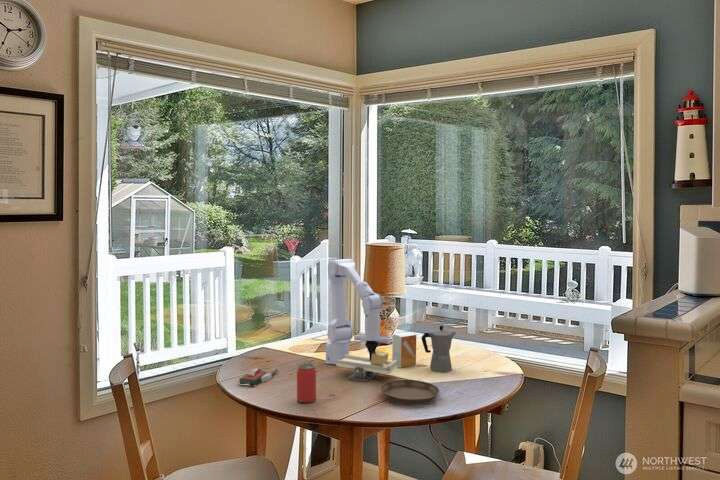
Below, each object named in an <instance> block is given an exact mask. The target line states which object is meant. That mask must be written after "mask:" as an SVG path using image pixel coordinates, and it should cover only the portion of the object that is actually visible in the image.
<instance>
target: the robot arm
mask: <svg viewBox="0 0 720 480" xmlns="http://www.w3.org/2000/svg"><path fill="white" fill-rule="evenodd" d="M327 272H328V279H329V280H330V291H331V302H332V303H331V305H332V314H333V319H332V320H331V321H330V322H329V323H328V324H327V337H328V340H329V341H327V342H326V345H325V362H324V364H329V365H336V363H337V359H338V360H342V359H344V358H345V354H347V355H350V342H351V340H352V339H353V340H354V342H355V341H361V342H365V343H364V344H365V347H366V349H367V352H368V354H369V358H370V361H371V357H372V353H373V352H375V351H376V349H377V348H378V346H379V343H381V344H386V345H387V344H388V345H389V344H391V342H392V341H391V340H392V339H391V337H387V336H381V335H380V324H381V322H380V321H381V320H380V317H381V316H380V313H381V311H380V310H381V309H382V308H383V305H384V301H383V297H382V295H381V294H380V293H376V292H374V291H373V288H371V286H370V285H369V284H368V282H367V281H363V280H362V278H361V276H360V275H359V273H358V272H357V270H356V263H355V262H354V260H353V259H352V258H343V259H331V260H329V262H328V264H327ZM346 278H347V279H348V280H349V281H350V282H351V283H352V285H353V286H354V291H355V293H356V294H357V296H358V298H359V299H360V300H361V306H362V309H363V314H364V334H355V335H354V329H353V326H352V322H351V321H350V320H349V319H347V317H346V303H345V291H344V290H345V289H344V281H345V280H346Z"/></svg>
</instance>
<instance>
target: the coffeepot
mask: <svg viewBox="0 0 720 480" xmlns="http://www.w3.org/2000/svg"><path fill="white" fill-rule="evenodd" d="M456 334H457V333H456V332H455V331H450V330H445V329H444V325H439V329H436V330H432V331H430V332H429V331H428V332H424V333H423V334H422V336H421V342H422V345H423V348H424V351H425V353H431V352H432V354H431V360H430V365H429V368H430V369H429V370H431V371H432V372H435V373H449V372H451V371H452V370H453V369H452V362H451V356H450V355H451V354H450V350H451V346H452V340H453V338H454V336H455V335H456ZM427 338H431V339H430V340H431V341H430V342H431V347H432V351H431V350H430V349H428V348H429V347H428V344H427V343H428V342H427Z"/></svg>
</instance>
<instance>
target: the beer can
mask: <svg viewBox="0 0 720 480" xmlns="http://www.w3.org/2000/svg"><path fill="white" fill-rule="evenodd" d="M296 399H297V401H298V402H299V401H301V402H311V403H313V402H315V401H316V399H317V371H316V367H315V365H314V364H309V363H305V364H300V365H298V367H297V371H296ZM301 402H300V403H301Z"/></svg>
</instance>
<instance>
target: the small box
mask: <svg viewBox="0 0 720 480" xmlns="http://www.w3.org/2000/svg"><path fill="white" fill-rule="evenodd" d="M391 342H392V344H391V345H392V347H391V348H392V350H391V351H392V353H391V354H392V356H391V357H392V358H391V360H392V361H394V360H397V368H400V369H401V368H406V367H411V366H416V365H417V334H415V333H412V332H410V331H405V332H404V331H403V332H398V333H393V334H392V341H391Z"/></svg>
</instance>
